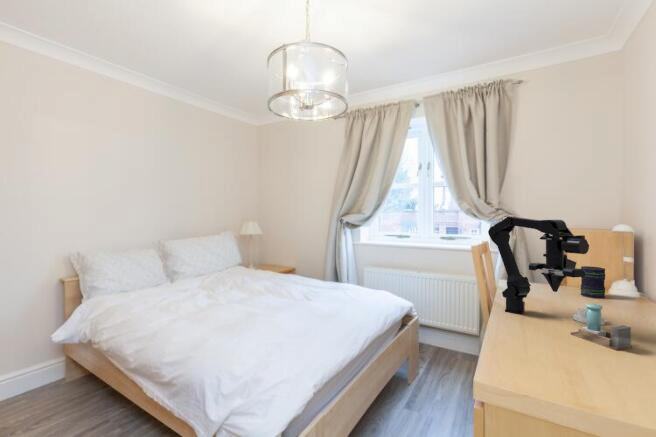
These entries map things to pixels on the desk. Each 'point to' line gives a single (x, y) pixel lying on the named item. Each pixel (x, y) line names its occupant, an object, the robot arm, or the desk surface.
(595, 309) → the knob
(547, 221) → the robot arm
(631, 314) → the desk surface
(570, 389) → the desk surface
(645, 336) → the desk surface
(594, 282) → the storage jar
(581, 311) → the mechanical component
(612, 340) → the mount
